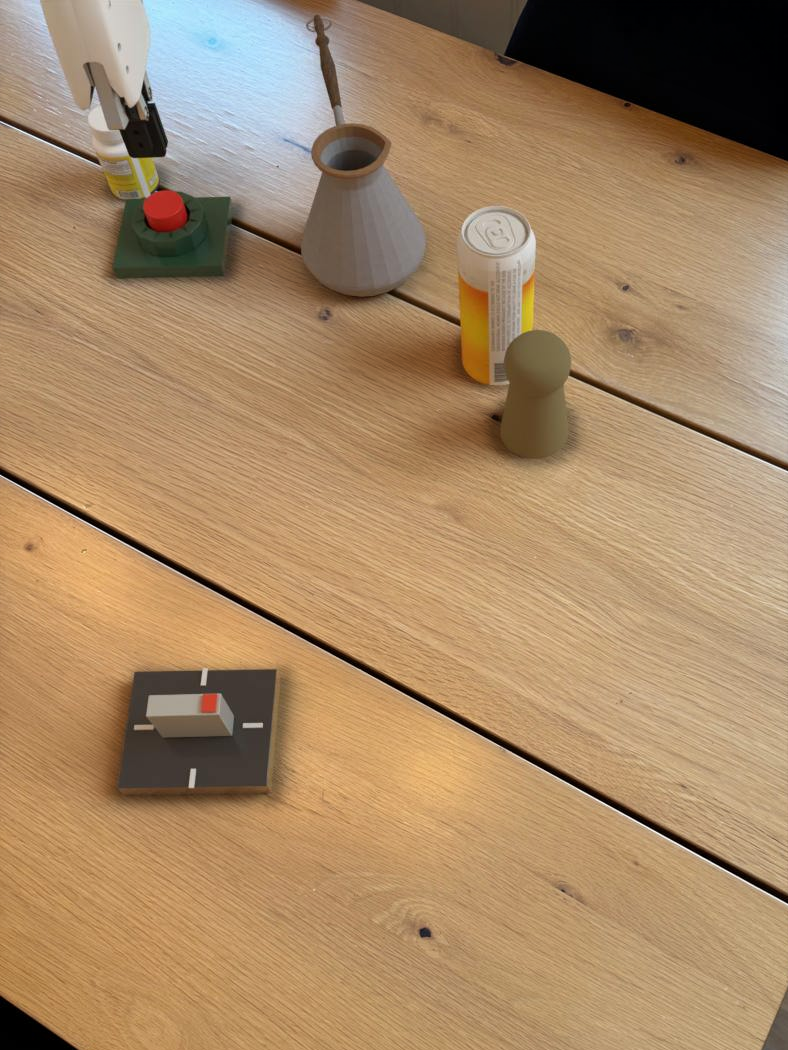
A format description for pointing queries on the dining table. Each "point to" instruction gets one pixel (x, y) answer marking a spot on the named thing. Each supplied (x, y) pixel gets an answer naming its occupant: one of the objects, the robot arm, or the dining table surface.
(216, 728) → the hob knob
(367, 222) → the coffee pot
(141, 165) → the supplement bottle
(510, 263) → the beer can
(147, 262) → the control block
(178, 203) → the power button
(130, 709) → the rotary switch
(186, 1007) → the dining table surface
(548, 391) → the olive pawn
